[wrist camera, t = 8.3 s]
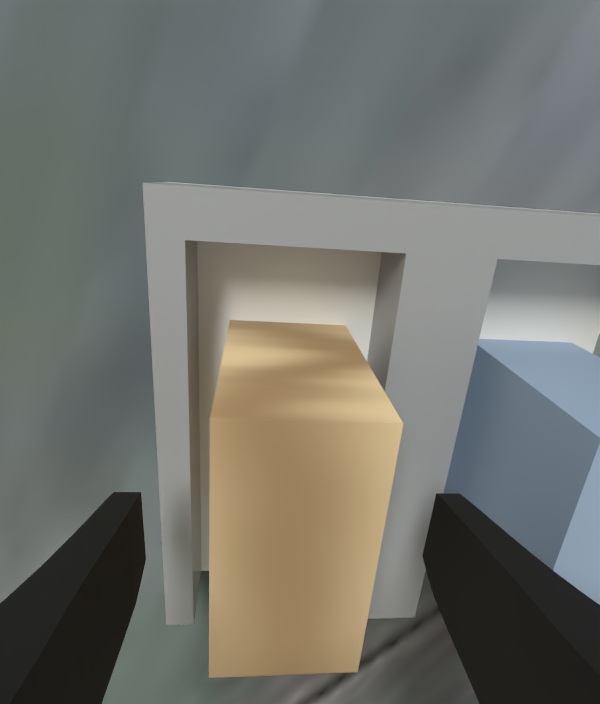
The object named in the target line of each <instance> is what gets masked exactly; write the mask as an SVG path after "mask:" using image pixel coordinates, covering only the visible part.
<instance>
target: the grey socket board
mask: <svg viewBox="0 0 600 704" xmlns="http://www.w3.org/2000/svg"><path fill="white" fill-rule="evenodd" d="M143 197H144V216H145V235H146V253H147V272H148V290H149V309H150V328H151V346H152V365H153V384H154V402H155V421H156V440H157V458H158V477H159V495H160V514H161V533H162V551H163V570H164V589H165V607H166V625H180V624H194V618H195V611H196V604H197V597H198V590H199V584H200V577H201V571H209V494H210V415H211V411H212V406H213V401H214V396H215V391H216V386H217V381H218V376H219V371H220V366H221V362H222V357H223V352H224V347H225V342H226V337H227V332H228V327H229V322H230V320H242V321H264V322H285V323H306V324H328V325H346V327H347V329H348V330H349V332H350V334H351V335H352V337H353V339H354V341H355V342H356V344H357V346H358V347H359V349H360V351H361V352H362V354H363V356H364V357H365V359H366V361H367V363H368V364H369V366H370V368H371V369H372V371H373V373H374V374H375V376H376V378H377V380H378V381H379V383H380V385H381V386H382V388H383V390H384V391H385V393H386V395H387V397H388V398H389V400H390V402H391V403H392V405H393V407H394V408H395V410H396V412H397V413H398V415H399V417H400V419H401V420H402V422H403V429H402V434H401V440H400V445H399V451H398V456H397V462H396V467H395V472H394V478H393V483H392V489H391V494H390V500H389V505H388V510H387V516H386V521H385V527H384V532H383V538H382V543H381V548H380V554H379V559H378V565H377V570H376V576H375V581H374V586H373V592H372V597H371V603H370V608H369V614H368V619H378V618H412V617H415V614H416V610H417V606H418V601H419V597H420V593H421V588H422V584H423V580H424V575H425V571H426V567H425V564H424V560H423V557H422V555H423V550H424V546H425V542H426V537H427V533H428V528H429V524H430V519H431V515H432V510H433V506H434V502H435V497H436V493H444V489H445V484H446V480H447V476H448V471H449V467H450V463H451V458H452V454H453V450H454V445H455V441H456V437H457V432H458V428H459V424H460V419H461V415H462V411H463V406H464V402H465V398H466V393H467V389H468V385H469V380H470V376H471V372H472V367H473V363H474V359H475V354H476V350H477V346H478V341H479V339H497V340H522V341H547V342H571V343H573V344H575V345H577V346H579V347H581V348H583V349H585V350H587V351H589V352H590V353H592V354H594V355H596V356H598V357H600V214H596V213H582V212H569V211H555V210H542V209H528V208H514V207H501V206H487V205H474V204H460V203H447V202H433V201H420V200H406V199H393V198H379V197H366V196H352V195H338V194H325V193H311V192H298V191H284V190H271V189H257V188H244V187H230V186H217V185H203V184H190V183H176V182H154V183H143Z"/></svg>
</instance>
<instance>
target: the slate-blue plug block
mask: <svg viewBox="0 0 600 704" xmlns="http://www.w3.org/2000/svg"><path fill="white" fill-rule="evenodd" d="M444 493H460V494H461V495H462V496H464V497H465V498H466V499H467V500H469V501H470V502H471V503H472V504H473V505H475V506H476V507H477V508H478V509H479V510H481V511H482V512H483V513H484V514H485V515H487V516H488V517H489V518H490V519H491V520H492V521H494V522H495V523H496V524H497V525H498V526H499V527H501V528H502V529H503V530H504V531H505V532H507V533H508V534H509V535H510V536H511V537H512V538H514V539H515V540H516V541H517V542H518V543H520V544H521V545H522V546H523V547H524V548H526V549H527V550H528V551H529V552H531V553H532V554H533V555H534V556H536V557H537V558H538V559H539V560H540V561H542V562H543V563H544V564H546V565H547V566H548V567H549V568H551V569H552V570H553V571H554V572H556V573H557V574H558V575H560V576H561V577H562V578H564V579H565V580H566V581H568V582H569V583H570V584H572V585H573V586H574V587H576V588H577V589H578V590H580V591H581V592H582V593H584V594H585V595H586V596H588V597H589V598H591V599H592V600H593V601H595V602H596V603H598V604H599V605H600V357H598V356H596V355H594V354H592V353H590V352H589V351H587V350H585V349H583V348H581V347H579V346H577V345H575V344H573V343H571V342H547V341H522V340H497V339H479V341H478V346H477V350H476V354H475V359H474V363H473V367H472V372H471V376H470V380H469V385H468V389H467V393H466V398H465V402H464V406H463V411H462V415H461V419H460V424H459V428H458V432H457V437H456V441H455V445H454V450H453V454H452V458H451V463H450V467H449V471H448V476H447V480H446V484H445V489H444Z"/></svg>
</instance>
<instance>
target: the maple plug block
mask: <svg viewBox="0 0 600 704" xmlns="http://www.w3.org/2000/svg"><path fill="white" fill-rule="evenodd" d="M402 429H403V422H402V420H401V419H400V417H399V415H398V413H397V412H396V410H395V408H394V407H393V405H392V403H391V402H390V400H389V398H388V397H387V395H386V393H385V391H384V390H383V388H382V386H381V385H380V383H379V381H378V380H377V378H376V376H375V374H374V373H373V371H372V369H371V368H370V366H369V364H368V363H367V361H366V359H365V357H364V356H363V354H362V352H361V351H360V349H359V347H358V346H357V344H356V342H355V341H354V339H353V337H352V335H351V334H350V332H349V330H348V329H347V327H346V325H328V324H306V323H285V322H264V321H242V320H230V322H229V327H228V332H227V337H226V342H225V347H224V352H223V357H222V362H221V366H220V371H219V376H218V381H217V386H216V391H215V396H214V401H213V406H212V411H211V415H210V494H209V678H219V677H244V676H269V675H295V674H320V673H345V672H358V668H359V662H360V657H361V652H362V646H363V641H364V635H365V630H366V624H367V619H368V614H369V608H370V603H371V597H372V592H373V586H374V581H375V576H376V570H377V565H378V559H379V554H380V548H381V543H382V538H383V532H384V527H385V521H386V516H387V510H388V505H389V500H390V494H391V489H392V483H393V478H394V472H395V467H396V462H397V456H398V451H399V445H400V440H401V434H402Z"/></svg>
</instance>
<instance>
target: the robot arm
mask: <svg viewBox="0 0 600 704" xmlns="http://www.w3.org/2000/svg"><path fill="white" fill-rule="evenodd" d="M422 557H423V560H424V564H425V567H426V571H427V575H428V578H429V581H430V585H431V588H432V591H433V594H434V598H435V600H436V602H437V605H438V607H439V610H440V612H441V614H442V617H443V619H444V622H445V624H446V626H447V629H448V631H449V633H450V636H451V638H452V640H453V643H454V645H455V647H456V650H457V652H458V654H459V657H460V659H461V661H462V664H463V666H464V668H465V671H466V673H467V675H468V678H469V680H470V682H471V685H472V687H473V689H474V692H475V694H476V696H477V699H478V701H479V704H600V605H599V604H598V603H596V602H595V601H593V600H592V599H591V598H589V597H588V596H586V595H585V594H584V593H582V592H581V591H580V590H578V589H577V588H576V587H574V586H573V585H572V584H570V583H569V582H568V581H566V580H565V579H564V578H562V577H561V576H560V575H558V574H557V573H556V572H554V571H553V570H552V569H551V568H549V567H548V566H547V565H546V564H544V563H543V562H542V561H540V560H539V559H538V558H537V557H536V556H534V555H533V554H532V553H531V552H529V551H528V550H527V549H526V548H524V547H523V546H522V545H521V544H520V543H518V542H517V541H516V540H515V539H514V538H512V537H511V536H510V535H509V534H508V533H507V532H505V531H504V530H503V529H502V528H501V527H499V526H498V525H497V524H496V523H495V522H494V521H492V520H491V519H490V518H489V517H488V516H487V515H485V514H484V513H483V512H482V511H481V510H479V509H478V508H477V507H476V506H475V505H473V504H472V503H471V502H470V501H469V500H467V499H466V498H465V497H464V496H462V495H461V494H460V493H436V497H435V502H434V506H433V510H432V515H431V519H430V524H429V528H428V533H427V537H426V542H425V546H424V550H423V555H422ZM145 560H146V556H145V542H144V528H143V514H142V501H141V492H114V493H113V494H112V495H110V496H109V497H108V498H107V499H106V500H105V501H104V503H103V504H102V505H101V506H100V507H99V508H98V509H97V510H96V511H95V512H94V513H93V514H92V515H91V516H90V517H89V518H88V520H87V521H86V522H85V523H84V524H83V525H82V526H81V527H80V528H79V529H78V530H77V531H76V532H75V533H74V534H73V535H72V536H71V537H70V538H69V539H68V540H67V541H66V542H65V543H64V544H63V545H62V546H61V547H60V548H59V549H58V550H57V551H56V552H55V553H54V554H53V555H52V556H51V557H50V558H49V559H48V560H47V561H46V562H45V563H44V564H43V565H42V566H41V567H40V568H39V569H38V570H37V571H36V572H34V573H33V574H32V575H31V576H30V577H29V578H28V579H27V580H26V581H25V582H24V583H22V584H21V585H20V586H19V587H18V588H17V589H16V590H15V591H14V592H13V593H11V594H10V595H9V596H8V597H7V598H6V599H5V600H4V601H3V602H1V603H0V704H102V701H103V698H104V695H105V692H106V689H107V686H108V683H109V680H110V678H111V675H112V672H113V669H114V666H115V663H116V660H117V657H118V654H119V651H120V649H121V646H122V643H123V640H124V637H125V634H126V631H127V628H128V625H129V622H130V619H131V616H132V613H133V610H134V607H135V604H136V600H137V596H138V592H139V587H140V583H141V579H142V574H143V569H144V565H145Z"/></svg>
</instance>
